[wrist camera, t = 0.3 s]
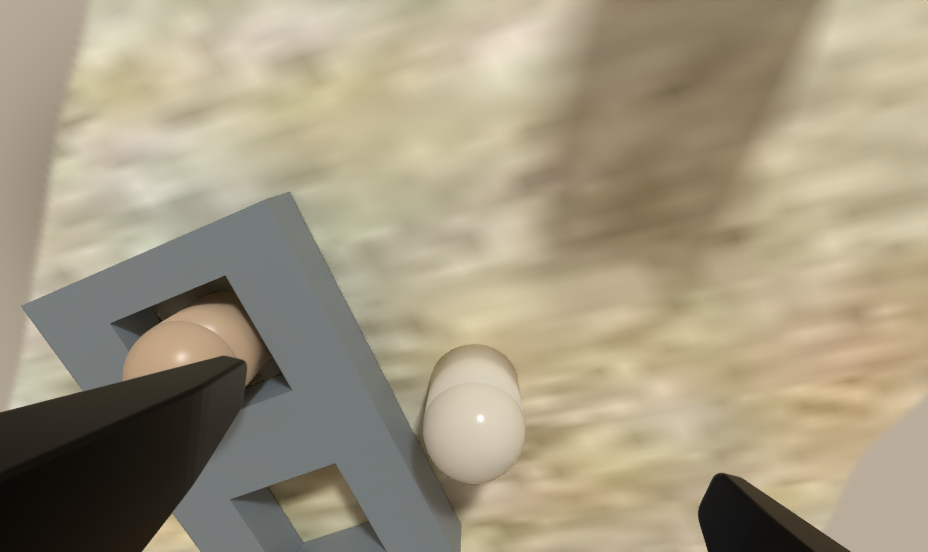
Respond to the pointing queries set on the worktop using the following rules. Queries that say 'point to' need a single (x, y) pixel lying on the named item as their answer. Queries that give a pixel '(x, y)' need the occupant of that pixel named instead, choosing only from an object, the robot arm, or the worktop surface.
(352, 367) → the egg carton
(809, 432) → the worktop surface
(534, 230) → the worktop surface
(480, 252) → the worktop surface
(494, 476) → the egg
